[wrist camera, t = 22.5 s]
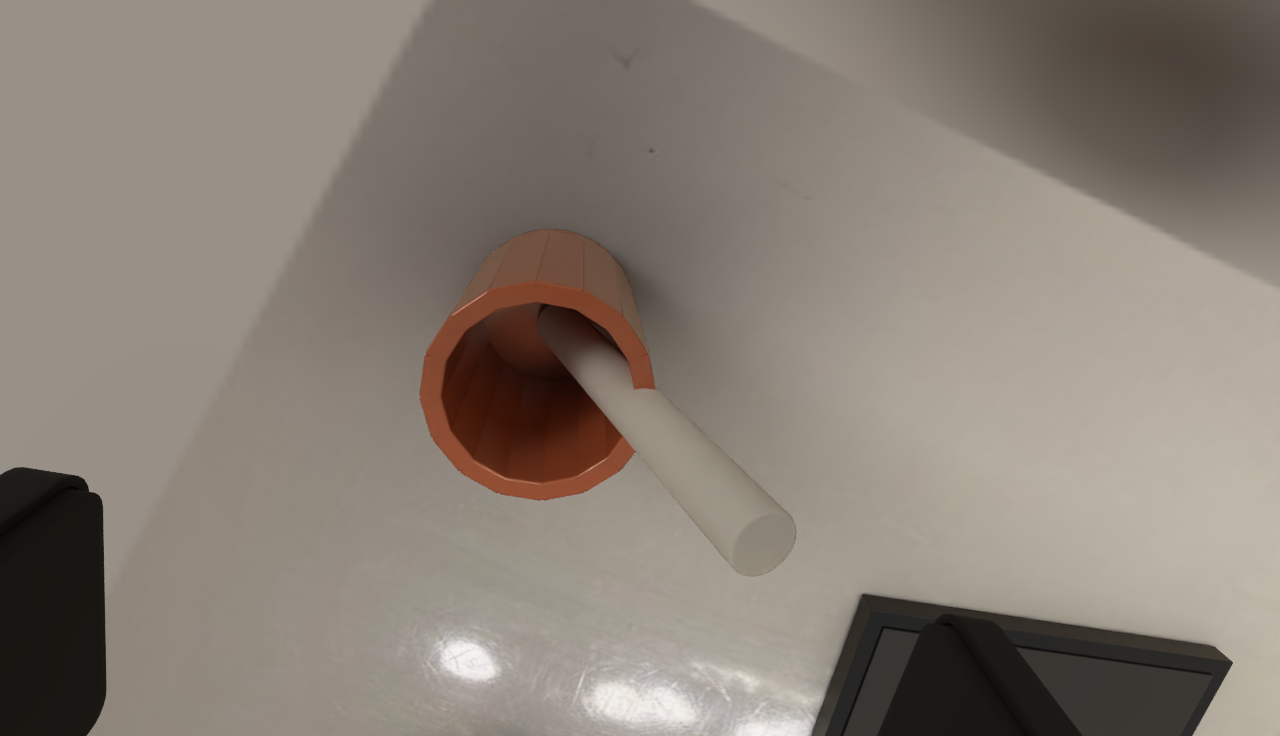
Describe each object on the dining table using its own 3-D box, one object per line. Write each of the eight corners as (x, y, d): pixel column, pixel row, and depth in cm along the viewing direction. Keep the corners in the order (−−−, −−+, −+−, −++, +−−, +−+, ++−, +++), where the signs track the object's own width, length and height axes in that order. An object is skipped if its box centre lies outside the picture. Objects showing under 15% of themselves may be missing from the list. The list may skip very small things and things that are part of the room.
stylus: (533, 292, 24) (742, 511, 13) (575, 296, 24) (807, 510, 13) (526, 333, 24) (720, 580, 13) (566, 337, 25) (785, 576, 14)
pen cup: (483, 213, 24) (436, 260, 16) (648, 247, 24) (677, 308, 17) (459, 370, 25) (407, 480, 18) (615, 398, 26) (628, 515, 19)
